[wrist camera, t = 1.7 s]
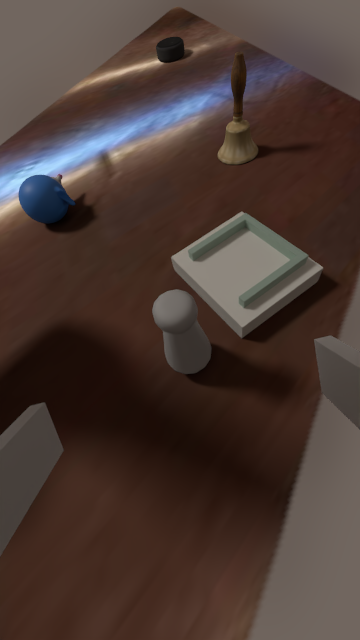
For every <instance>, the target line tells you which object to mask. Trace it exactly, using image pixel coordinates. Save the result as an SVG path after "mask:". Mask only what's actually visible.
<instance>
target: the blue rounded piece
mask: <svg viewBox="0 0 360 640" xmlns="http://www.w3.org/2000/svg"><path fill="white" fill-rule="evenodd" d="M61 179H62V175H60V174H58V176H57V177H56V178H54V177H49V176H46V175H34V176H31V177H29V178H28V179H26V180H25V181H24V182H23V183H22V185H21V187H20V189H19V201H20V204H21V206H22V208H23V210H24V211H25V212H26V213H27V214H28V215H29V216H30V217H31V218H32V219H34V220H36V221H38V222H41V223H54V222H57V221H59V220H60V219H62V218H63V217H64V216H65V214H66V213H67V210H68V205H69V204H70V205H72V206H74V205H75V202H74V201H73V200H72V199H71V198H70V197H69V196H68V195H67V193H66V191H65V189H64V188H63V187H62V185H61Z"/></svg>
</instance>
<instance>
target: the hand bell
mask: <svg viewBox="0 0 360 640" xmlns="http://www.w3.org/2000/svg"><path fill="white" fill-rule="evenodd" d="M245 86H246V65H245V61H244V56H243V52H236V53H235V58H234V63H233V67H232V72H231V87H232V92H233V96H234V113H233V121H232V122H230V123H229V124H228V125H227V127H226V137H225V141H224V144H223V146H222V147H221V148H220V150H219V152H218V158H219V160H220V161H222V162H223V163H226V164H231V165H232V164H235V165H237V164H243V163H246V162H248V161H251V160H252V159H254V158H255V157H256V156H257V154H258V147H257V145H256V144H255V143H254V142H253V141H252V139H251V135H250V125H249V123H248V122H247V121H246V120H243V119H242V114H243V111H242V110H243V103H242V101H243V94H244V90H245Z"/></svg>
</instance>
